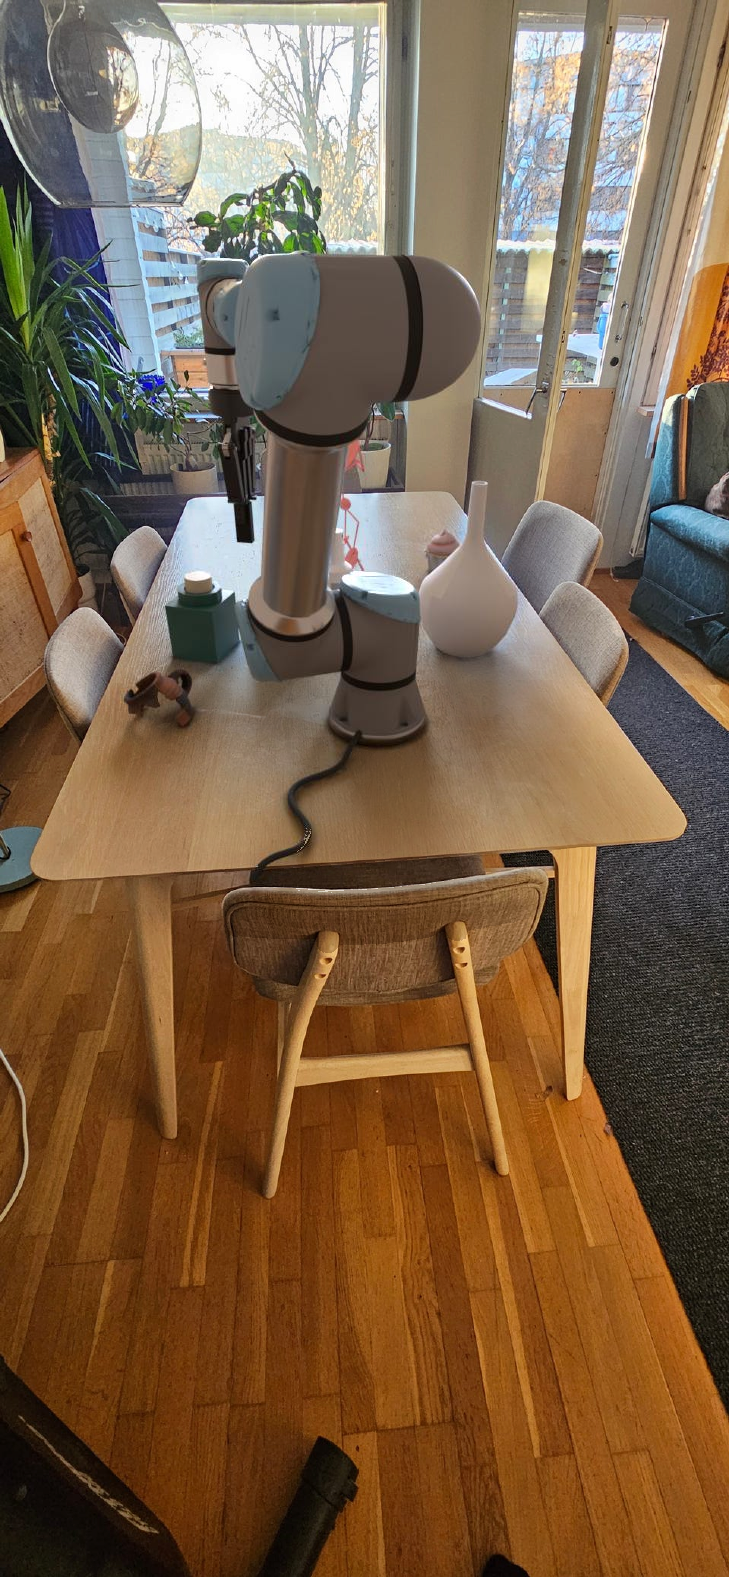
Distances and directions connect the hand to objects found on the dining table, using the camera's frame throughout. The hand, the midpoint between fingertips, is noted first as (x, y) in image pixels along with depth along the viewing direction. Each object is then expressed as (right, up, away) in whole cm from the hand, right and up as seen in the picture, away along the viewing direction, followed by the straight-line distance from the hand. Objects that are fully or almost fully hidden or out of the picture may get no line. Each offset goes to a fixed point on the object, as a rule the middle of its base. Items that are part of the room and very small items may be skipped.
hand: (245, 541), depth 123 cm
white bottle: (+14, -8, +24) cm, 29 cm away
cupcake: (+39, +9, +48) cm, 62 cm away
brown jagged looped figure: (-12, -30, -6) cm, 33 cm away
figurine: (+13, +10, +49) cm, 51 cm away
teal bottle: (-10, -16, +13) cm, 23 cm away
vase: (+39, -15, +15) cm, 45 cm away
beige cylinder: (-9, -7, +6) cm, 13 cm away
